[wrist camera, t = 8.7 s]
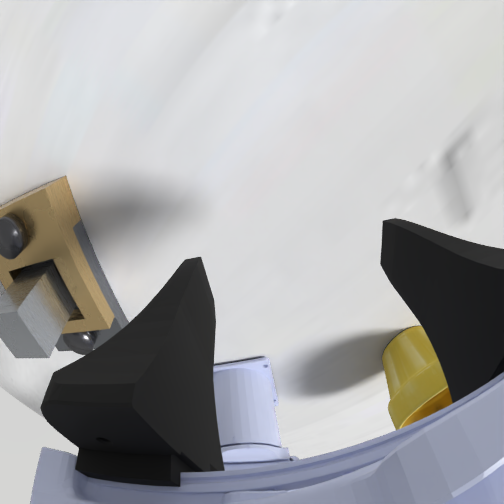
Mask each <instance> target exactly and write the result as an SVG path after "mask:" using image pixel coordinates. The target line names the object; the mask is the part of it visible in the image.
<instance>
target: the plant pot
mask: <svg viewBox="0 0 504 504" xmlns="http://www.w3.org/2000/svg"><path fill="white" fill-rule="evenodd" d="M382 361H383V366H384V370H385V375H386V379H387V384H388V389H389V394H390V399H391V400H390V402H389V405H388V411H389V414H390V416H391V419H392V421H393V424H394V426H395V428H396V430H398V429H401V428H403V427H405V426H408V425H410V424H412V423H414V422H417V421H419V420H421V419H423V418H425V417H427V416H430V415H432V414H434V413H436V412H438V411H440V410H442V409H443V408H445V407H447V406H449V405H451V404H453V403H452V399H451V395H450V392H449V388H448V385H447V382H446V379H445V376H444V373H443V370H442V368H441V365H440V362H439V360H438V358H437V355H436V353H435V351H434V349H433V346H432V344H431V342H430V340H429V338H428V337H427V335H426V333H425V331H424V329H423V327H422V326H415V327H411V328H408V329H406V330H404V331H403V332H401V333H400V334H398V335H397V336H396V337H395V338H394V339H393V340H392V341H391V342H390V343H389V344H388V345H387V347H386V348H385V350H384V352H383V356H382Z"/></svg>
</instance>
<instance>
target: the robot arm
mask: <svg viewBox="0 0 504 504" xmlns="http://www.w3.org/2000/svg"><path fill="white" fill-rule="evenodd" d="M380 264H381V266H382V268H383V270H384V272H385V274H386V275H387V277H388V279H389V281H390V282H391V284H392V285H393V287H394V288H395V289H396V291H397V292H398V293H399V295H400V296H401V297H402V299H403V300H404V301H405V303H406V304H407V305H408V307H409V308H410V310H411V311H412V312H413V314H414V315H415V316H416V318H417V319H418V321H419V322H420V324H421V325H422V327H423V329H424V331H425V333H426V335H427V337H428V338H429V340H430V342H431V344H432V346H433V349H434V351H435V353H436V355H437V358H438V360H439V362H440V365H441V368H442V370H443V373H444V376H445V379H446V382H447V385H448V388H449V392H450V395H451V399H452V403H453V404H451V405H449V406H447V407H445V408H443V409H442V410H440V411H438V412H436V413H434V414H432V415H430V416H427V417H425V418H423V419H421V420H419V421H417V422H414V423H412V424H410V425H408V426H405V427H403V428H401V429H398V430H396V431H393V432H391V433H388V434H385V435H383V436H380V437H377V438H375V439H372V440H369V441H366V442H363V443H360V444H357V445H354V446H351V447H347V448H344V449H341V450H337V451H334V452H330V453H326V454H322V455H318V456H314V457H310V458H306V459H301V460H300V459H299V458H298V457H296V456H290V455H289V450H288V448H287V447H286V448H282V444H281V438H280V433H279V428H278V422H277V417H276V411H275V406H277V405H278V404H279V403H278V398H277V393H276V388H275V384H274V379H273V374H272V370H271V365H270V360H269V358H266V357H263V358H258V359H252V360H247V361H241V362H235V363H229V364H222V365H216V366H214V347H215V328H216V318H215V305H214V298H213V295H212V292H211V288H210V285H209V282H208V279H207V275H206V272H205V269H204V265H203V262H202V259H201V257H196V258H191V259H186V260H184V262H183V263H182V264H181V265H180V266H179V268H178V269H177V270H176V271H175V273H174V274H173V275H172V277H171V278H170V279H169V280H168V282H167V283H166V284H165V285H164V287H163V288H162V289H161V290H160V291H159V293H158V294H157V295H156V296H155V297H154V298H153V299H152V301H151V302H150V303H149V304H148V305H147V306H146V307H145V308H144V309H143V310H142V311H141V312H140V313H139V314H138V315H137V316H136V317H135V318H134V319H133V320H132V321H131V322H130V323H129V324H127V325H126V326H125V327H124V328H123V329H121V330H120V331H119V332H118V333H116V334H115V335H114V336H113V337H111V338H110V339H109V340H108V341H106V342H105V343H103V344H102V345H101V346H99V347H98V348H96V349H95V350H93V351H92V352H90V353H88V354H87V355H85V356H84V357H82V358H80V359H79V360H77V361H75V362H73V363H71V364H69V365H67V366H65V367H63V368H62V369H60V370H58V371H56V372H54V373H53V375H52V378H51V380H50V383H49V386H48V388H47V391H46V393H45V396H44V399H43V402H42V405H41V411H42V414H43V416H44V417H45V419H46V420H47V422H48V423H49V424H50V425H51V426H53V427H54V428H55V429H56V430H57V431H58V432H59V433H61V434H62V435H63V436H64V437H66V438H67V439H68V440H69V441H71V442H72V443H74V444H75V445H76V446H77V447H79V452H78V457H77V456H76V455H73V454H71V453H68V452H64V451H59V450H55V449H51V448H46V447H43V448H42V450H41V454H40V458H39V462H38V466H37V470H36V475H35V480H34V485H33V490H32V496H31V501H30V504H504V249H500V248H495V247H489V246H485V245H481V244H477V243H473V242H469V241H465V240H462V239H459V238H456V237H453V236H450V235H447V234H444V233H441V232H438V231H435V230H432V229H430V228H427V227H424V226H421V225H418V224H415V223H412V222H409V221H406V220H402V219H396V218H394V219H389V220H384V221H383V229H382V248H381V263H380Z"/></svg>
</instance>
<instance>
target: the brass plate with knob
mask: <svg viewBox="0 0 504 504" xmlns="http://www.w3.org/2000/svg"><path fill="white" fill-rule="evenodd" d="M49 259H53V260H54V262H55V264H56V266H57V268H58V270H59V272H60V274H61V276H62V278H63V280H64V282H65V284H66V286H67V288H68V290H69V292H70V293H71V295H72V297H73V299H74V301H75V302H76V304H77V305H76V306H75V308H74V310H73V312H72V314H71V316H70V317H69V319H68V321H67V323H66V325H65V327H64V329H63V331H62V333H61V335H60V337H59V339H58V341H57V343H56V345H55V347H56V348H57V349H58V351H74V352H76V353H78V354H82V355H87V354H88V353H90V352H92V350H93V349H96V348H98V347H99V346H101V345H102V344H103V343H105V342H106V341H108V340H109V339H110V338H111V337H113V336H114V335H115V334H116V333H118V332H119V331H120V330H121V329H123V328H124V327H125V326H126V325H127V324H129V322H128V320H127V318H126V317H125V315H124V313H123V311H122V309H121V307H120V305H119V303H118V301H117V299H116V297H115V295H114V293H113V291H112V289H111V287H110V285H109V283H108V281H107V279H106V277H105V275H104V273H103V271H102V268H101V266H100V264H99V262H98V260H97V257H96V255H95V253H94V250H93V248H92V246H91V243H90V241H89V238H88V236H87V233H86V231H85V228H84V226H83V223H82V221H81V218H80V215H79V213H78V210H77V207H76V204H75V202H74V199H73V196H72V193H71V190H70V187H69V184H68V181H67V178H66V176H64V177H62V178H59V179H57V180H54V181H52V182H50V183H48V184H45V185H43V186H41V187H39V188H36V189H34V190H32V191H30V192H28V193H26V194H24V195H22V196H20V197H18V198H16V199H14V200H12V201H10V202H8V203H6V204H4V205H2V206H0V281H1V282H2V284H3V286H4V288H5V290H6V289H7V288H8V287H9V285H10V284H11V283H12V282H13V281H14V279H15V278H16V277H17V276H18V275H19V274H20V272H21V271H22V270H23V269H24V268H25V267H26V266H28V265H32V264H35V263H39V262H42V261H46V260H49Z"/></svg>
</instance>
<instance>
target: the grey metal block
mask: <svg viewBox="0 0 504 504" xmlns="http://www.w3.org/2000/svg"><path fill="white" fill-rule="evenodd" d="M76 305H77V304H76V302H75V301H74V299H73V297H72V295H71V293H70V292H69V290H68V288H67V286H66V284H65V282H64V280H63V278H62V276H61V274H60V272H59V270H58V268H57V266H56V264H55V262H54V260H53V259H49V260H46V261H42V262H39V263H35V264H32V265H28V266H26V267H25V268H24V269H23V270H22V271H21V272H20V274H19V275H18V276H17V277H16V278H15V279H14V281H13V282H12V283H11V284H10V285H9V287H8V288H7V289H6V290H5V292H4V293H3V294H2V295H1V297H0V338H1V339H2V340H3V342H4V343H5V345H6V346H7V347H8V349H9V350H10V351H11V352H12V354H13V355H14V356H15V358H50V355H51V353H52V351H53V349H54V347H55V345H56V343H57V341H58V339H59V337H60V335H61V333H62V331H63V329H64V327H65V325H66V323H67V321H68V319H69V317H70V316H71V314H72V312H73V310H74V308H75V306H76Z"/></svg>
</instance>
